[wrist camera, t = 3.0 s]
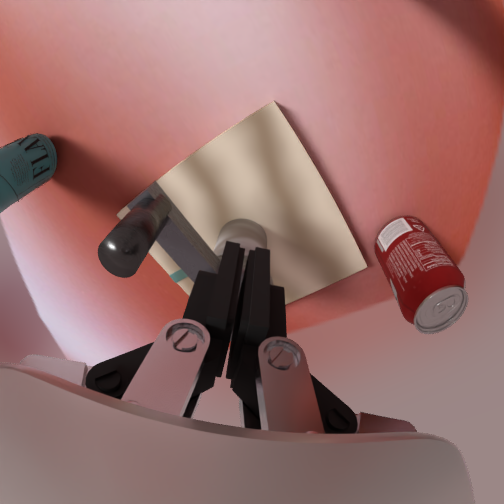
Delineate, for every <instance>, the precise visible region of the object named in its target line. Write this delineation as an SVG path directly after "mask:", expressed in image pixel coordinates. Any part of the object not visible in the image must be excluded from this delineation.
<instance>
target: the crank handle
mask: <svg viewBox="0 0 504 504" xmlns="http://www.w3.org/2000/svg"><path fill="white" fill-rule="evenodd" d="M127 207H128V208H129V209H130V211H129V212H128V213H127V214H126V216H125V217H124V218H123V219H122V220H121V221H120V222H119V223H118V224H117V225H116V226H115V228H114V229H113V230H112V231H111V232H110V233H109V234H108V235H107V237H106V238H105V239H104V240H103V241H102V242H101V244H100V245H99V248H98V257H99V260H100V262H101V264H102V265H103V266H104V268H105V269H106V270H107V271H109V272H110V273H111V274H113V275H115V276H118V277H123V278H127V277H131V276H133V275H134V274H135V273H136V271H137V270H138V268H139V266H140V265H141V263H142V261H143V260H144V258H145V257H146V255H147V253H148V252H149V250H150V249H151V247H152V245H153V244H154V242H155V241H157V242H158V243H159V245H160V246H161V247H162V248H163V249H164V250H165V251H166V253H167V254H168V255H169V256H170V257H171V258H172V259H173V260H174V261H175V263H176V264H177V265H178V266H179V267H180V268H181V269H182V270H183V271H184V273H185V274H186V275H187V276H188V277H189V278H190V279H191V280H192V281H193V282H194V283H195V280H196V277H197V274H198V272H199V270H202V271H207V272H211V273H216V274H218V270H219V267H220V263H221V259H222V255H223V254H221V255H218V256H216V254H215V253H214V252H213V251H212V250H211V248H210V247H209V246H208V245H207V244H206V242H205V241H204V240H203V239H202V237H201V236H200V235H199V234H198V233H197V231H196V230H195V229H194V228H193V227H192V225H191V224H190V223H189V222H188V220H187V219H186V218H185V217H184V215H183V214H182V213H181V212H180V211H179V209H178V208H177V207H176V206H175V204H174V203H173V202H172V201H171V199H170V198H169V197H168V196H167V194H166V193H165V192H164V191H163V189H162V188H161V187H160V186H159V184H158V183H157V182H156V181H155V182H153V183H152V184H151V185H149V186H148V187H147V188H146V189H145V190H143V191H142V192H141V193H140V194H138V195H137V196H136V197H135V198H134V199H133V200H132V201H131V202H130V203H129V204H128V205H127ZM247 258H248V256H245V255H244V261H243V267H242V274H241V281H240V287H241V283H242V279H243V275H244V271H245V266H246V262H247ZM270 284H271V285H274V283H273V279H272V276H271V274H270ZM193 286H194V285H193ZM192 289H193V287H192ZM191 291H192V290H191ZM239 292H240V288H239ZM190 294H191V293H190ZM238 296H239V295H238ZM189 297H190V296H189ZM188 300H189V299H188ZM232 331H233V330H232ZM231 338H232V334H231ZM231 338H230V341H231Z"/></svg>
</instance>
